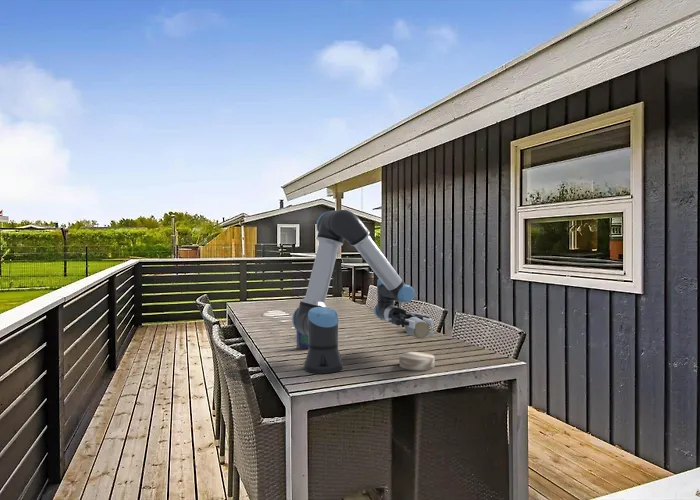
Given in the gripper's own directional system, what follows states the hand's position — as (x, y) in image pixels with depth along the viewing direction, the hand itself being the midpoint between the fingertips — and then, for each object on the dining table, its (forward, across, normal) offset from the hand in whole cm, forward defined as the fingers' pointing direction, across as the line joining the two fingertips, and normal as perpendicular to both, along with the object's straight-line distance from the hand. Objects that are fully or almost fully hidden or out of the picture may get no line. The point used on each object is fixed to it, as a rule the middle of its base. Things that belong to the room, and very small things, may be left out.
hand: (423, 324), depth 184 cm
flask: (-50, +32, -18) cm, 62 cm away
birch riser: (-5, 0, -18) cm, 18 cm away
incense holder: (-63, -35, -18) cm, 75 cm away
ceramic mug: (-4, -1, -6) cm, 8 cm away
